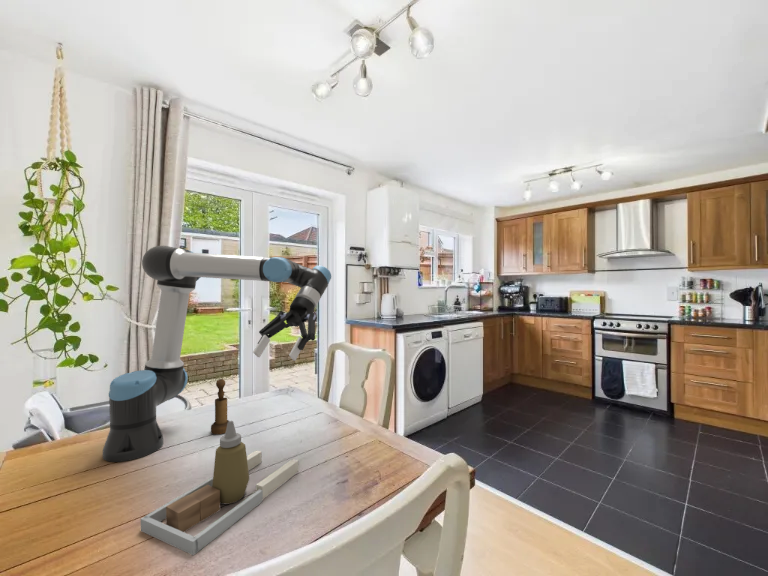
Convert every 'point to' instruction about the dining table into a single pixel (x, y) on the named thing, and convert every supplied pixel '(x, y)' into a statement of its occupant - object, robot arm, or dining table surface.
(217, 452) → the squeeze bottle
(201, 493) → the brown cubic block
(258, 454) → the slot rails
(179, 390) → the robot arm
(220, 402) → the wooden pepper mill
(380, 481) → the dining table surface
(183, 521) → the brown cube block
